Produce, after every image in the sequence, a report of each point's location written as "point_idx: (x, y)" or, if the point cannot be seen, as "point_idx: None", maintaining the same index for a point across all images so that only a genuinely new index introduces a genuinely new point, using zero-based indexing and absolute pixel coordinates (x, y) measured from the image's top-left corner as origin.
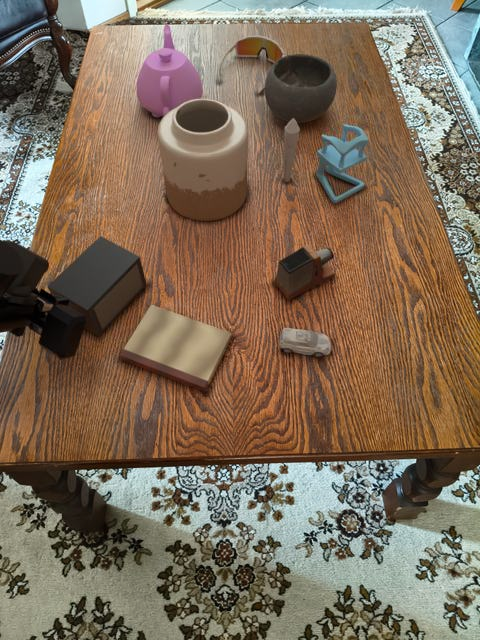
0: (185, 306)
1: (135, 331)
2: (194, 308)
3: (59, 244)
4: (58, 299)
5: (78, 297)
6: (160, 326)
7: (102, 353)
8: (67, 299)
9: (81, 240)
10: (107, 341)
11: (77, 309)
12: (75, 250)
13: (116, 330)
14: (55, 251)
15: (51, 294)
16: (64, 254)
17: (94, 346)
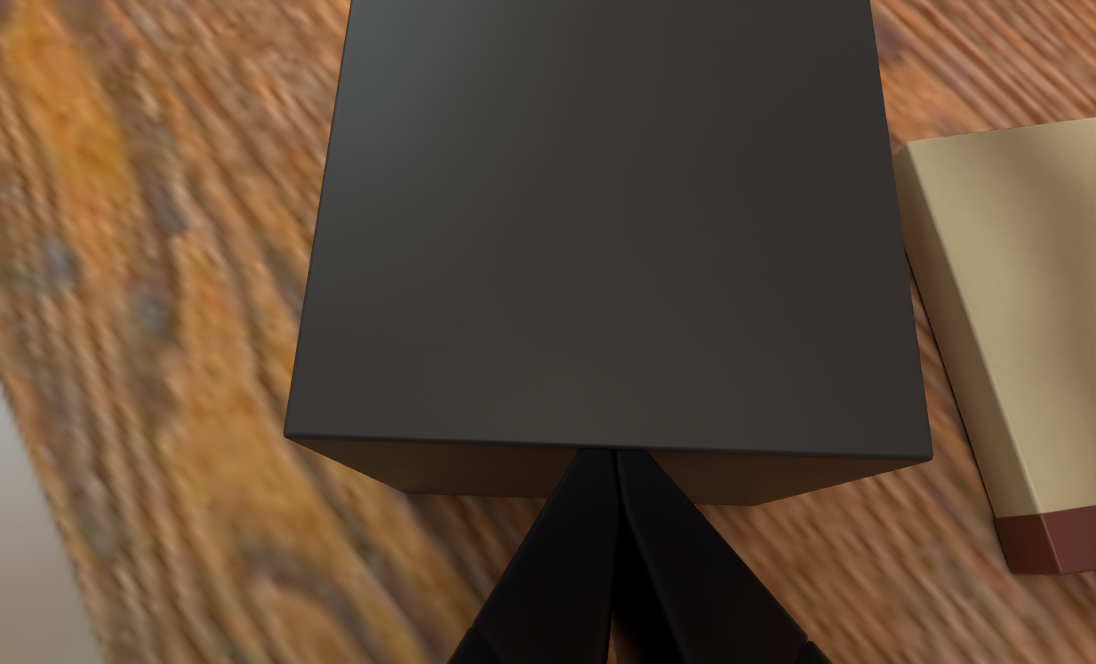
0: (1011, 71)
1: (992, 352)
2: (1060, 58)
3: (56, 81)
4: (764, 627)
5: (715, 372)
6: (1084, 239)
7: (868, 600)
8: (658, 469)
9: (171, 2)
10: (824, 501)
11: (697, 470)
12: (179, 69)
13: None
14: (61, 130)
15: (549, 586)
16: (130, 121)
17: (781, 583)
